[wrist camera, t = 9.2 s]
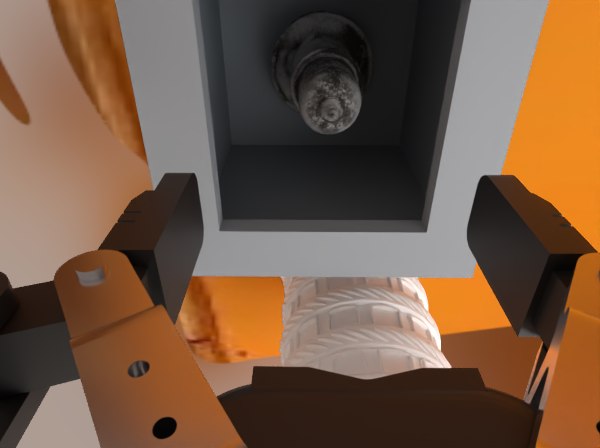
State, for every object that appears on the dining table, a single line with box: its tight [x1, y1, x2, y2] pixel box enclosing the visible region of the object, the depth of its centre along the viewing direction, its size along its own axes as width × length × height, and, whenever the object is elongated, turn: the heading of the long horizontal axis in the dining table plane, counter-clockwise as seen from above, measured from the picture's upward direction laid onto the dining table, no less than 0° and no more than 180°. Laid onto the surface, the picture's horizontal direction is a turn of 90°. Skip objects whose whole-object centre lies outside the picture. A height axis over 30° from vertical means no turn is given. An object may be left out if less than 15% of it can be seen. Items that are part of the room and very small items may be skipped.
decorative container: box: [279, 277, 451, 379], centre depth 29 cm, size 12×12×18 cm
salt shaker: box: [271, 11, 373, 135], centre depth 23 cm, size 6×6×12 cm
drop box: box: [115, 0, 549, 278], centre depth 22 cm, size 14×14×14 cm
